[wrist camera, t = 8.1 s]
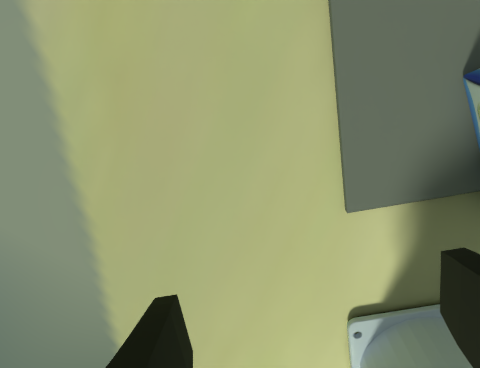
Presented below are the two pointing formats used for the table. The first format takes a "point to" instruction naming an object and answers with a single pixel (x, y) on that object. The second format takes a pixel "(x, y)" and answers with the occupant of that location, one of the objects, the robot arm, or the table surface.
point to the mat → (405, 99)
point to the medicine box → (474, 98)
